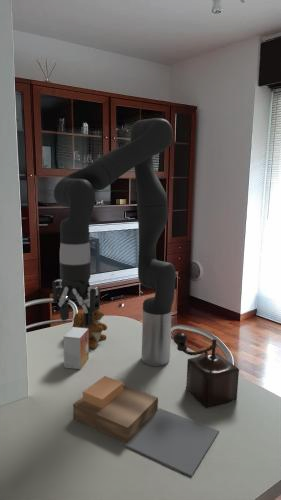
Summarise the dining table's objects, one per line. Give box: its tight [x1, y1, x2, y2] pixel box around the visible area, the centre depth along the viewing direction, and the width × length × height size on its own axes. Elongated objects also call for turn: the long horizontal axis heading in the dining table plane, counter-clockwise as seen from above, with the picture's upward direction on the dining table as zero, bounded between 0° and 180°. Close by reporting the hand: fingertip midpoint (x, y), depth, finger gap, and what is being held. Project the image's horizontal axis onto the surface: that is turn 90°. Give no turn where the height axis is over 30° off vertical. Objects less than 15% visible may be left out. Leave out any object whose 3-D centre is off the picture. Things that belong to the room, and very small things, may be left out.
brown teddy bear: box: [71, 308, 108, 350], centre depth 134 cm, size 10×14×13 cm
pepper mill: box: [172, 332, 240, 409], centre depth 101 cm, size 16×11×18 cm
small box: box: [63, 327, 90, 370], centre depth 118 cm, size 8×6×10 cm
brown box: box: [72, 384, 159, 444], centre depth 93 cm, size 14×16×4 cm
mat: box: [124, 407, 220, 478], centre depth 85 cm, size 16×16×1 cm
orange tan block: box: [82, 375, 124, 408], centre depth 94 cm, size 9×6×2 cm, turn 149°
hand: (76, 322), depth 96 cm, fingers open, 7 cm apart
